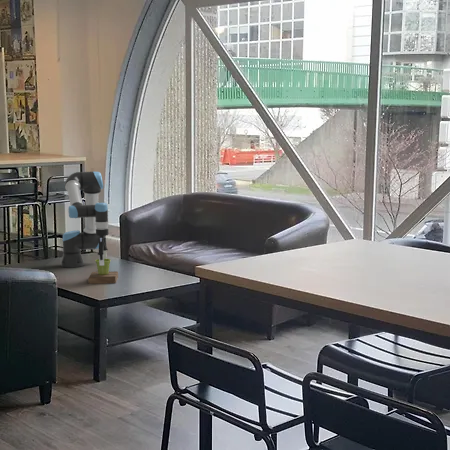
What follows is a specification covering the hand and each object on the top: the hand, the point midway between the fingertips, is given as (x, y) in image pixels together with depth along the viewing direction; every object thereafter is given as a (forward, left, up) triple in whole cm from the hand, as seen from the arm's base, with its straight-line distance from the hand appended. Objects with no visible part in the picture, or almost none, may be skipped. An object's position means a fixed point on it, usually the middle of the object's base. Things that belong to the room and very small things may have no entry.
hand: (103, 263), depth 427 cm
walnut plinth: (0, 0, -11) cm, 11 cm away
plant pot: (0, 0, -7) cm, 7 cm away
